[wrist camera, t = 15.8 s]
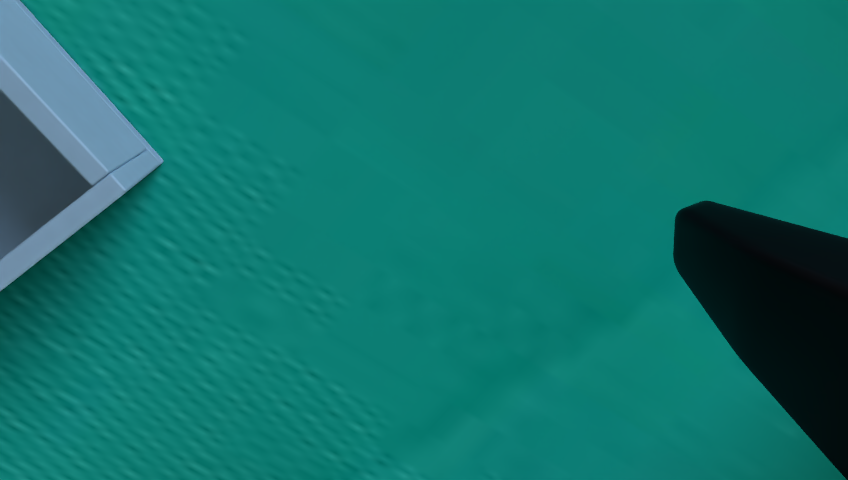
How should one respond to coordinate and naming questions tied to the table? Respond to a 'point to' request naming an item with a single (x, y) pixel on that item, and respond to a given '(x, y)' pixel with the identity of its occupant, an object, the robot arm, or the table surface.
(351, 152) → the table surface
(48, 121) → the grey open box
